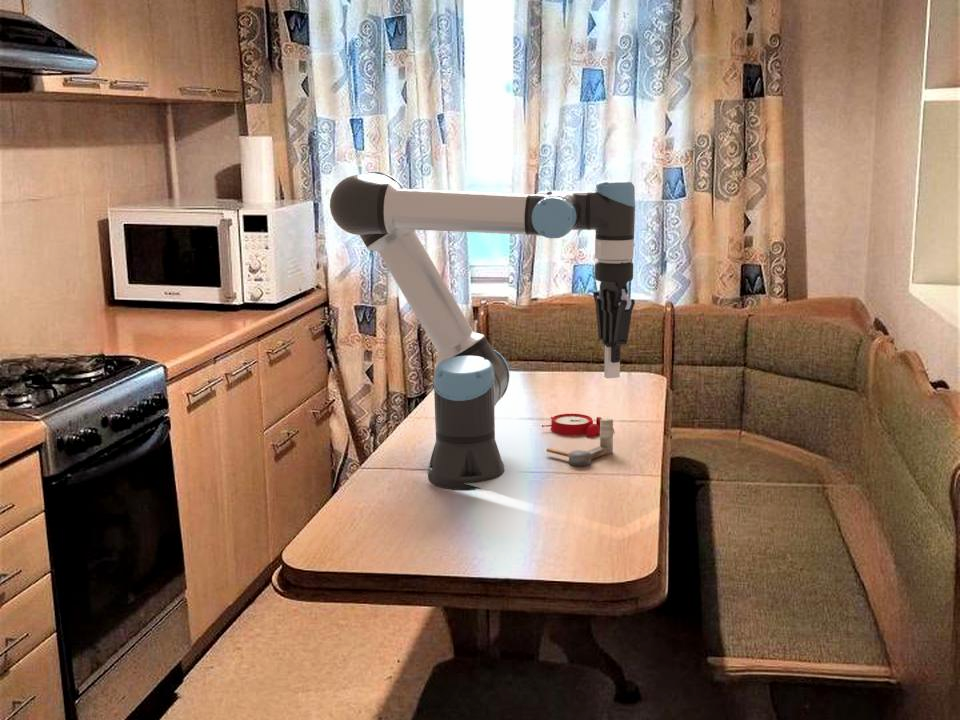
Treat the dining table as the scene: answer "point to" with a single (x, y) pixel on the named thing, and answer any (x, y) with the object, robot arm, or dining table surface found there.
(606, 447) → the peg lever
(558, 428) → the alarm clock
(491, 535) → the dining table surface
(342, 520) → the dining table surface
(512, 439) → the dining table surface
